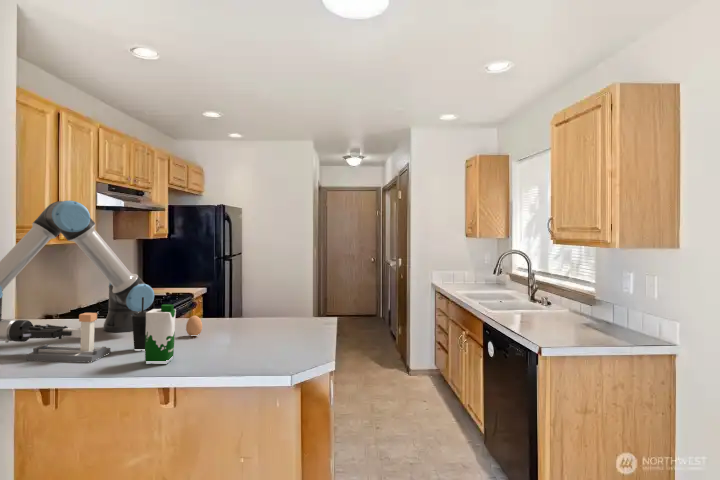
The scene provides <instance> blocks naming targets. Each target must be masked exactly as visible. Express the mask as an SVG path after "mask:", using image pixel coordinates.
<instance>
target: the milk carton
mask: <svg viewBox="0 0 720 480" xmlns="http://www.w3.org/2000/svg"><path fill="white" fill-rule="evenodd" d="M160 307H161V308H152V309H151V310H147V311H148V312H146V336H145V351H144V359H145V361H166V360H169V359H170V358H171V357H172V356H173V357H174V351H175V332H176V331H175V329H176V315H177V309H175V308H174V307H175V306H174V304H169V303H165V304H161V305H160ZM145 361H144V362H145Z"/></svg>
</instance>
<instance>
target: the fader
mask: <svg viewBox="0 0 720 480" xmlns="http://www.w3.org/2000/svg"><path fill="white" fill-rule="evenodd" d="M97 320H98V312H84V313H80V314H79V315H78V322H79V323H80V329H81V338H80V347H81V348H80V351H93V350H94V347H95V323H96V321H97Z"/></svg>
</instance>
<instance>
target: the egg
mask: <svg viewBox="0 0 720 480" xmlns="http://www.w3.org/2000/svg"><path fill="white" fill-rule="evenodd" d="M185 330H186V333H187V335H189V336H190V335H198V334H199V335H200V334H201V333H202V331H203V322H202V320H201V318H200V317H199V316H197V315H191V316H190V317H189V319H188V320H187V322H186V324H185ZM199 335H198V336H199Z"/></svg>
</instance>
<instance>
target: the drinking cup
mask: <svg viewBox="0 0 720 480" xmlns="http://www.w3.org/2000/svg"><path fill="white" fill-rule="evenodd" d="M148 311H149V310H144V297H142V311H137V312H135V313H133V314H131V316H132V324H133V331H132V334H133V335H132V336H133V337H132V338H133V350H134V349H145V336H146V312H148Z"/></svg>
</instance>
